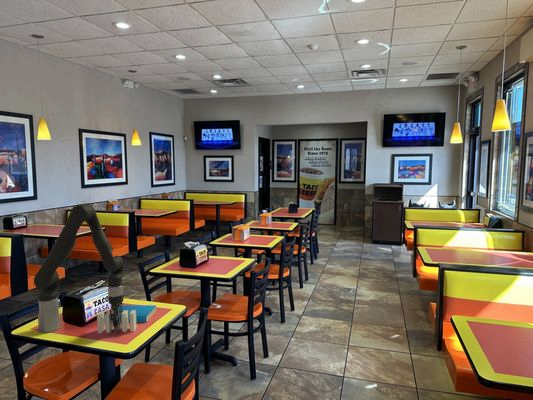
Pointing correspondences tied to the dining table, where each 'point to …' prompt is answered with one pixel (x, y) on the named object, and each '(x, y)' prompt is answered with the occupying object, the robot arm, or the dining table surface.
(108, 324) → the domino
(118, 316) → the domino
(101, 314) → the domino
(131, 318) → the domino
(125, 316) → the domino
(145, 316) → the book
